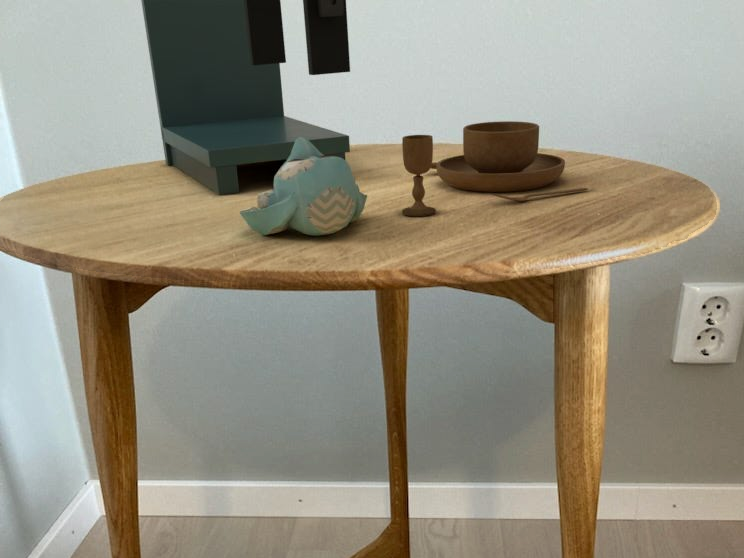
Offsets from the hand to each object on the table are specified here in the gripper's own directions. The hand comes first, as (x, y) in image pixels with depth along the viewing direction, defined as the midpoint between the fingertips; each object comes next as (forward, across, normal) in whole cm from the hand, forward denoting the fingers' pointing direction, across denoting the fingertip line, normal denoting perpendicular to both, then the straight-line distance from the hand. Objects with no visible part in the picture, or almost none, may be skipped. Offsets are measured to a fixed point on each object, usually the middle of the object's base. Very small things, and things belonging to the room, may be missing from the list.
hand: (296, 68), depth 67 cm
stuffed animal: (+12, 0, 0) cm, 12 cm away
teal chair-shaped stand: (+11, +28, -4) cm, 31 cm away
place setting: (+12, +7, -18) cm, 22 cm away
